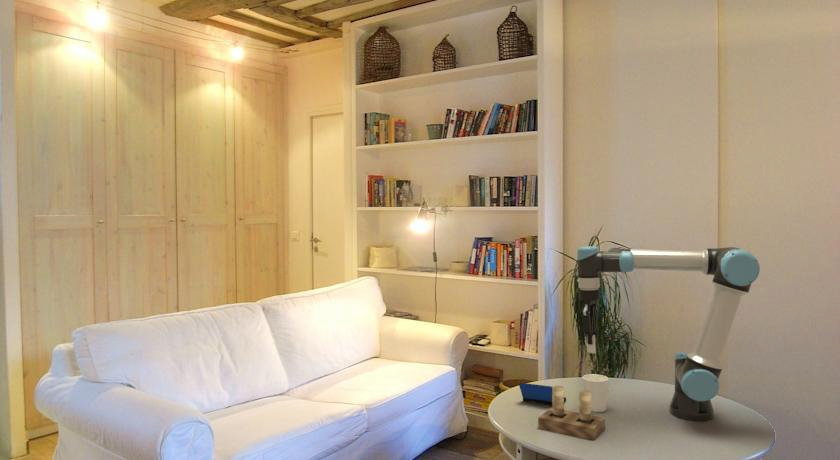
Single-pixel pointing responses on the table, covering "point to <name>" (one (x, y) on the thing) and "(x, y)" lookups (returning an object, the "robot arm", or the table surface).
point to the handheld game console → (537, 393)
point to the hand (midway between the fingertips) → (591, 352)
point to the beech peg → (558, 401)
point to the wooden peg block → (575, 420)
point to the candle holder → (597, 391)
